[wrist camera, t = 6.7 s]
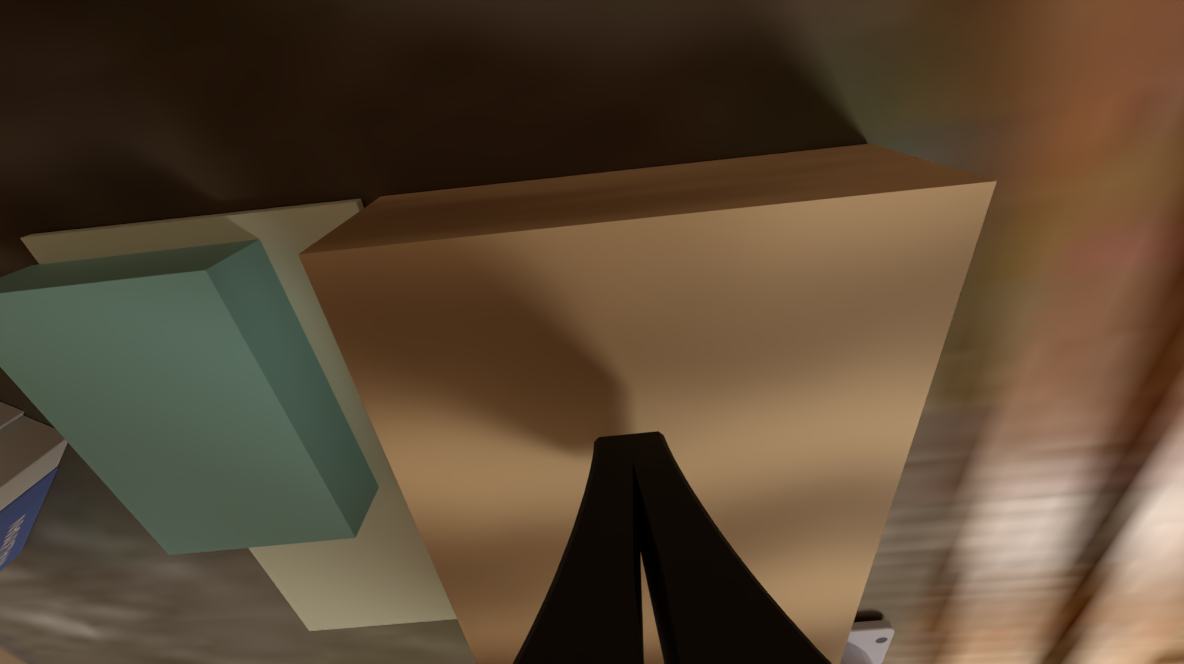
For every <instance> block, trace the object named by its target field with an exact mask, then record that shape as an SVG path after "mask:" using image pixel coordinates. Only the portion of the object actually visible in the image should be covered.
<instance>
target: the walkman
mask: <svg viewBox="0 0 1184 664" xmlns="http://www.w3.org/2000/svg"><path fill="white" fill-rule="evenodd" d="M23 414H24V411H22V410H19V409H17V408H15V407H12V406H10V405H8V404H5V403H3V402H1V401H0V571H1V570H2V569H3V568H4V567H5V566H7V565H8V564H9V563H10V562H11V561H12V560H13V559H14V558H16V557H17V556H18V555H19V554H20V553H21V551H22V549H23V547H24V545H25V542H26V540H27V538H28V535H29V533H30V531H31V529H32V526H33V524H34V522H35V520H36V517H37V515H38V513H39V510H40V508H41V506H42V504H43V501H44V499H45V497H46V495H47V492H48V490H49V488H50V485H51V483H52V481H53V479H54V476H55V474H56V472H57V470H58V467H59V465H58V464H59V462H60V459H61V457H62V455H63V452H64V450H65V448H66V445H67V443H68V442H67V441H66V440H65V439H64V437H63V436H62V435H61V434H60V433H59V432H58V431H57V430H56V429H55V428H52V427H50V426H47V425H45V424H43V423H40V422H38V421H36V420H33V419H31V418H28V417H26V416H24V415H23Z"/></svg>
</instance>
